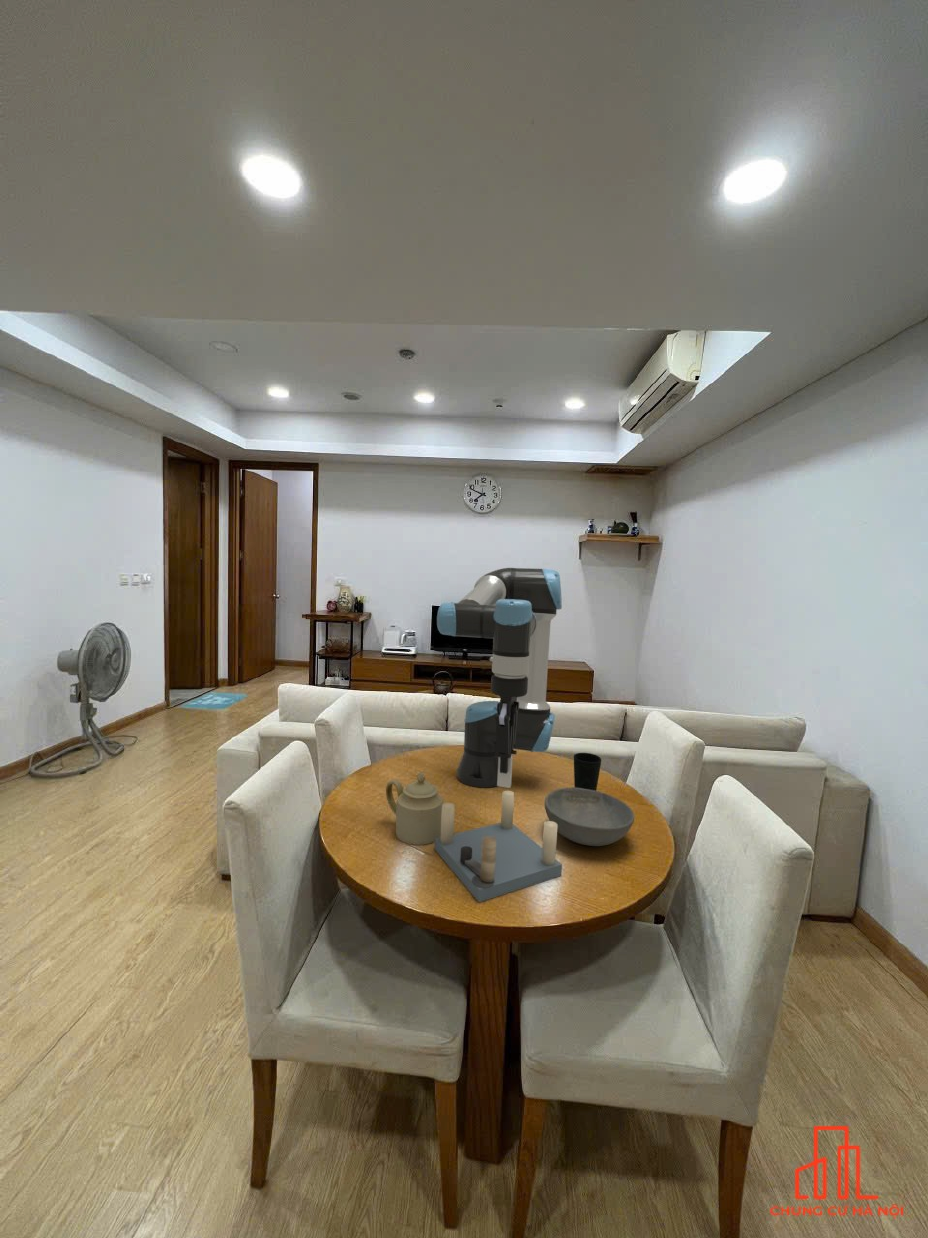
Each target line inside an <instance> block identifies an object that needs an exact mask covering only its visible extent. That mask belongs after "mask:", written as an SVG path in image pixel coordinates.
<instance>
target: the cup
mask: <svg viewBox="0 0 928 1238" xmlns="http://www.w3.org/2000/svg"><path fill="white" fill-rule="evenodd" d="M601 766H602V758H601V757H600V756H599V755H597V754H594V753H590V752H589V753H588V752H577V753H575V754H573V779H574V781H573V783H574V784H573V785H574V788H583V789H589V790H595V791H598V783H599V782H598V781H599V777H600V770H601Z"/></svg>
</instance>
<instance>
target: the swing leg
mask: <svg viewBox="0 0 928 1238" xmlns="http://www.w3.org/2000/svg"><path fill="white" fill-rule="evenodd" d="M495 859H496V839H495V838H494V837H492V836H485V837H483V838H482V851H481V864H480V863H478V862H477V861H476V860H475V859H473V858H472V848H471V847H468V846H464V847H462V848H461V855H460V861H461V862H462V863H464V864H466V865H467V866H468V867H469V868H471V869H472V870H473V871H474V872H475V873H477V874H478V875H479V876H480V879H481V880H482V881H484V882H492V881H494V878H495Z"/></svg>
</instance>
